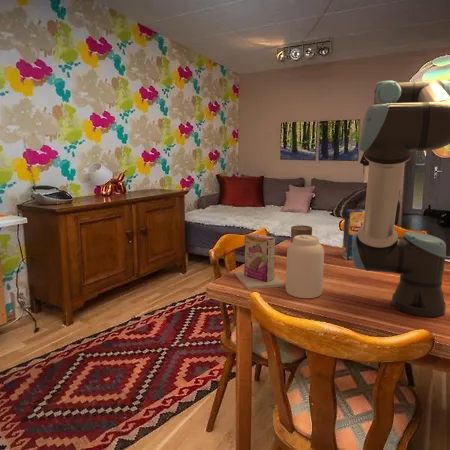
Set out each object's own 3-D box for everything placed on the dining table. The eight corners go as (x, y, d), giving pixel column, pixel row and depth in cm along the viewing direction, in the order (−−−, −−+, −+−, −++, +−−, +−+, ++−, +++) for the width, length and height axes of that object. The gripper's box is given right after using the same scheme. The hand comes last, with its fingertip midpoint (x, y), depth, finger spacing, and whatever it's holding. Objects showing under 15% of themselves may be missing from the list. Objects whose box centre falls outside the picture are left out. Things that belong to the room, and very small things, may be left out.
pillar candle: (314, 254, 175) (315, 223, 172) (306, 259, 167) (308, 227, 164) (294, 252, 180) (295, 221, 178) (286, 256, 172) (287, 225, 169)
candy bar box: (243, 276, 143) (243, 234, 140) (251, 272, 146) (252, 232, 143) (266, 283, 135) (268, 239, 132) (274, 279, 139) (276, 237, 136)
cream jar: (283, 285, 136) (285, 232, 132) (317, 286, 135) (320, 232, 131) (287, 299, 123) (290, 241, 119) (325, 299, 123) (329, 241, 119)
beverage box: (371, 260, 167) (375, 212, 162) (346, 260, 166) (350, 212, 162) (365, 256, 173) (368, 209, 169) (341, 256, 173) (344, 209, 169)
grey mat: (284, 286, 135) (284, 283, 135) (247, 289, 132) (247, 286, 132) (267, 271, 151) (267, 269, 151) (234, 274, 148) (234, 271, 148)
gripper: (417, 124, 126) (411, 186, 130) (369, 128, 149) (365, 180, 153) (399, 123, 124) (393, 187, 128) (353, 127, 147) (349, 181, 151)
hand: (378, 184), depth 141 cm, fingers open, 13 cm apart
